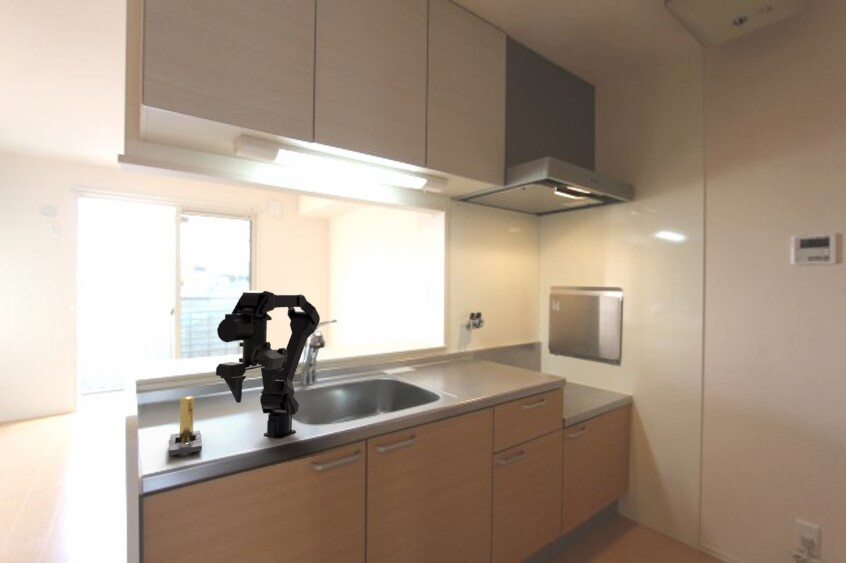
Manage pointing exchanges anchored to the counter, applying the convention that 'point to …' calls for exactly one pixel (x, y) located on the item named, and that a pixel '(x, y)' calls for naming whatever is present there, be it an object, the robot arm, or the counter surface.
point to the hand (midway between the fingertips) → (253, 398)
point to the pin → (186, 419)
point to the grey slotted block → (185, 445)
